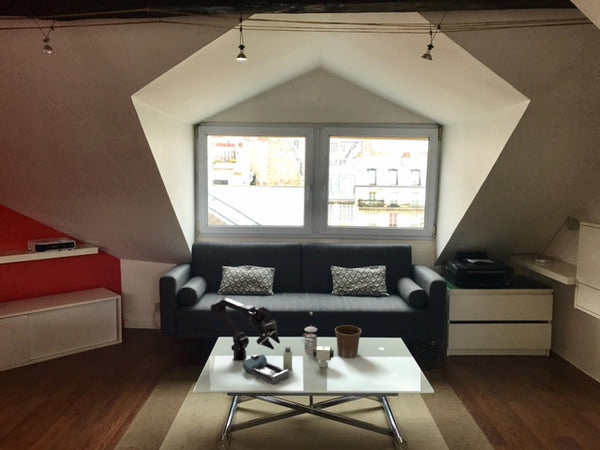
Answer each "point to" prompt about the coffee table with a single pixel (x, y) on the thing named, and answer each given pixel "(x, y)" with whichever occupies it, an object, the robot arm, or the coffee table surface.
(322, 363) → the pneumatic valve
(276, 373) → the grey tray with cylinder
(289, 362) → the pale green bottle
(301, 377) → the coffee table surface
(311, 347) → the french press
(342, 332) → the plant pot
